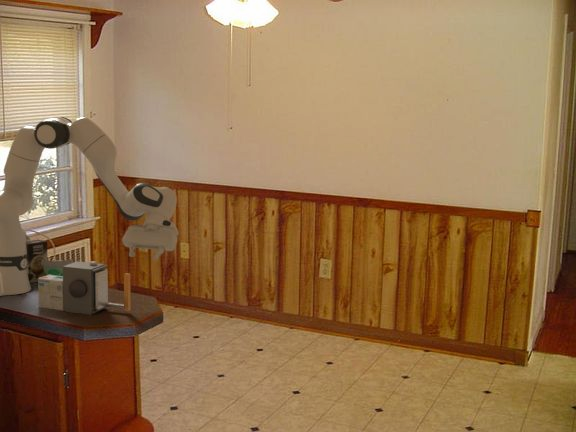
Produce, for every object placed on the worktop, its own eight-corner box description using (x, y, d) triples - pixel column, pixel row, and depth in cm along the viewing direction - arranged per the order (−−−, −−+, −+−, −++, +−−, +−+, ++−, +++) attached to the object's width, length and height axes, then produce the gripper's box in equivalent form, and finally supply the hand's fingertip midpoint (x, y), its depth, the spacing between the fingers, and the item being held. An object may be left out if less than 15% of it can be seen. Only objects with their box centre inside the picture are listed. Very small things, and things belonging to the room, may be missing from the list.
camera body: (60, 312, 259) (59, 264, 256) (77, 304, 269) (77, 258, 267) (91, 316, 255) (90, 268, 253) (107, 308, 266) (107, 261, 263)
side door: (95, 311, 258) (95, 272, 256) (105, 306, 265) (105, 268, 262) (121, 314, 256) (121, 275, 254) (130, 309, 262) (130, 271, 260)
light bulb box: (74, 306, 267) (74, 277, 266) (63, 311, 261) (62, 281, 260) (49, 302, 271) (49, 273, 269) (37, 307, 265) (37, 277, 263)
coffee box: (28, 283, 297) (28, 243, 294) (19, 281, 301) (18, 241, 298) (48, 280, 304) (47, 240, 302) (39, 277, 308) (38, 238, 306)
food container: (40, 287, 293) (39, 261, 291) (41, 283, 299) (40, 258, 297) (72, 286, 296) (72, 261, 294) (73, 282, 302) (73, 258, 300)
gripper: (127, 219, 278) (113, 249, 270) (177, 223, 272) (165, 254, 264) (132, 229, 283) (120, 259, 275) (182, 233, 277) (171, 264, 269)
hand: (142, 257), depth 269 cm, fingers open, 8 cm apart
